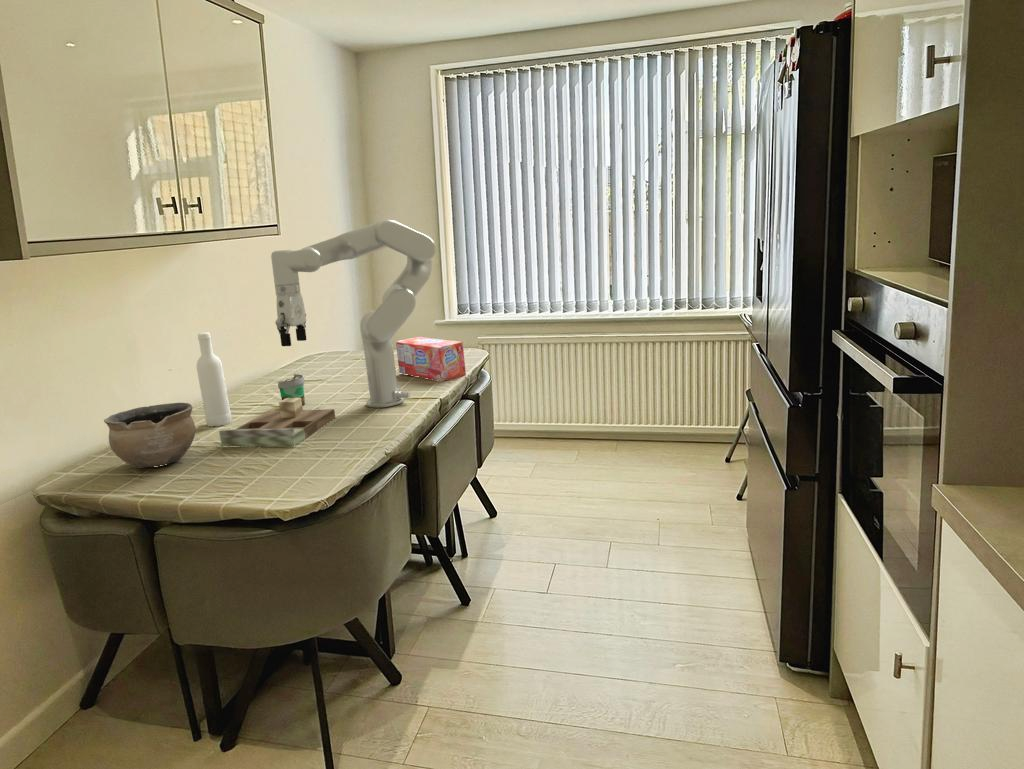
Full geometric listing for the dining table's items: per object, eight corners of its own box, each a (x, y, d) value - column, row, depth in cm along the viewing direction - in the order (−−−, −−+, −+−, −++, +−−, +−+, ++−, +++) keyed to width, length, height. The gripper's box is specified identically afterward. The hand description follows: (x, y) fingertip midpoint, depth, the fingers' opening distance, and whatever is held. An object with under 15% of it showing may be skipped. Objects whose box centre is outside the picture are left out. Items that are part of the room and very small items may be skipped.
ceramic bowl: (111, 483, 196) (99, 428, 192) (117, 460, 215) (106, 410, 212) (202, 465, 204) (192, 412, 201) (200, 445, 224) (191, 396, 220)
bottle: (207, 422, 249) (190, 333, 242) (232, 418, 252) (216, 330, 245) (206, 428, 242) (189, 336, 235) (232, 424, 244) (216, 333, 237)
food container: (298, 410, 255) (294, 381, 253) (281, 410, 257) (277, 382, 254) (314, 400, 267) (310, 373, 265) (298, 401, 268) (294, 373, 266)
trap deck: (335, 418, 241) (333, 403, 240) (294, 446, 215) (291, 429, 214) (270, 419, 246) (267, 404, 245) (222, 447, 220) (219, 430, 218)
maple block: (303, 412, 239) (301, 397, 238) (295, 417, 234) (293, 401, 233) (288, 413, 240) (286, 398, 239) (281, 417, 235) (278, 402, 234)
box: (467, 375, 289) (463, 339, 285) (441, 382, 280) (438, 346, 277) (423, 368, 307) (419, 335, 304) (398, 375, 299) (394, 341, 296)
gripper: (284, 292, 229) (291, 348, 233) (311, 286, 245) (317, 338, 249) (262, 293, 231) (269, 348, 235) (290, 287, 247) (297, 338, 251)
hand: (294, 343), depth 242 cm, fingers open, 9 cm apart
